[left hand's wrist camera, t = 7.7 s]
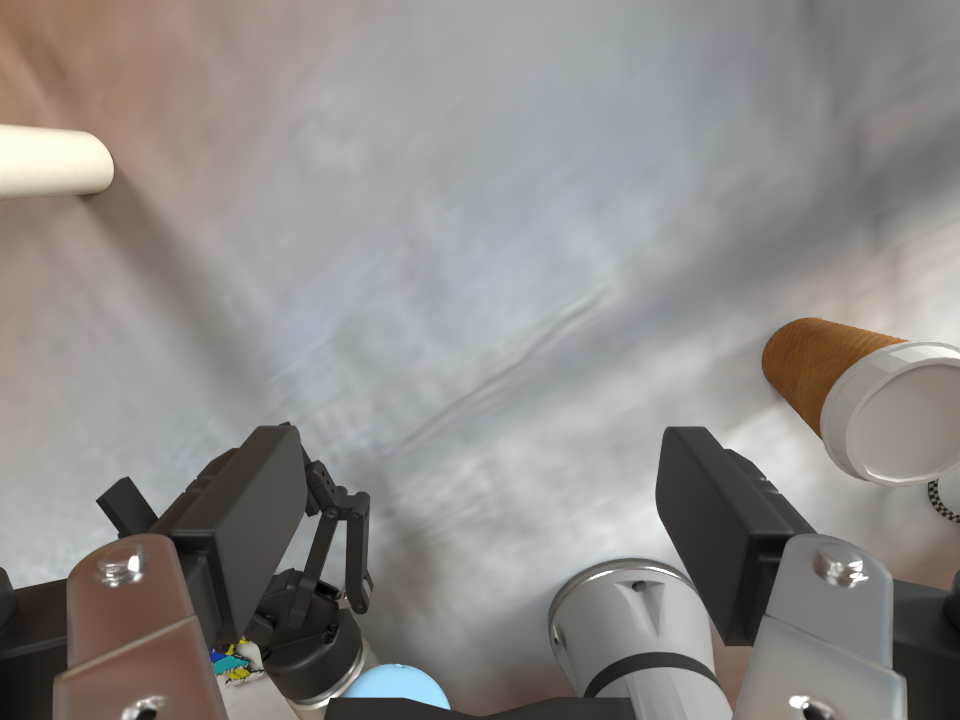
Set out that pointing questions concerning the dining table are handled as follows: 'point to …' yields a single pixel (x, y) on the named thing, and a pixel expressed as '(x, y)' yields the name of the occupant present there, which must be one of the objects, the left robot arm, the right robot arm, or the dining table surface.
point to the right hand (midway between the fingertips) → (192, 460)
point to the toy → (234, 666)
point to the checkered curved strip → (938, 504)
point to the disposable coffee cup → (871, 398)
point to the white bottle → (51, 163)
